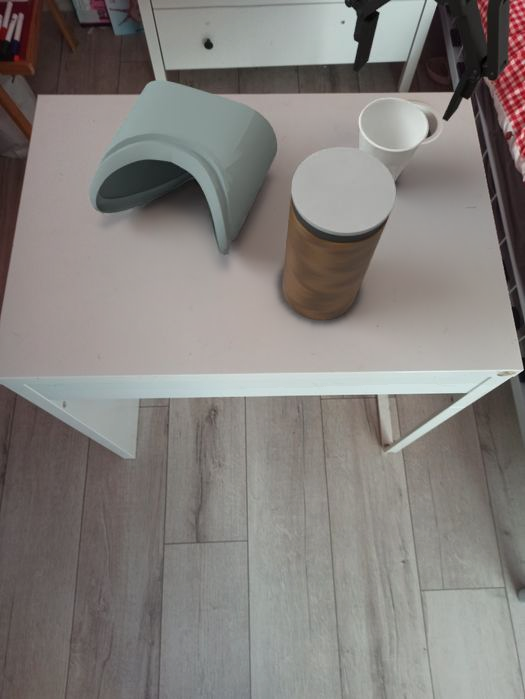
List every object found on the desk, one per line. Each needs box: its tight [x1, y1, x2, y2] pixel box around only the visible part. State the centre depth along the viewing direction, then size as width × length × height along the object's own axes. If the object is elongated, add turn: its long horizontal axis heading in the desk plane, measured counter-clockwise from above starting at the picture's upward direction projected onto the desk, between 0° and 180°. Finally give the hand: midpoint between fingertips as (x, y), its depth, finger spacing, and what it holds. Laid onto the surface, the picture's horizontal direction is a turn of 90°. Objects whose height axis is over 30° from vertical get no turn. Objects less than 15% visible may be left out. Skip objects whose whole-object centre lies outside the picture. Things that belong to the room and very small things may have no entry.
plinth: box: [282, 192, 391, 321], centre depth 63 cm, size 11×11×20 cm
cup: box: [358, 96, 430, 183], centre depth 74 cm, size 10×10×11 cm
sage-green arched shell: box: [88, 79, 278, 256], centre depth 71 cm, size 22×19×13 cm
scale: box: [290, 146, 397, 243], centre depth 52 cm, size 11×11×2 cm
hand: (404, 89), depth 63 cm, fingers open, 13 cm apart
